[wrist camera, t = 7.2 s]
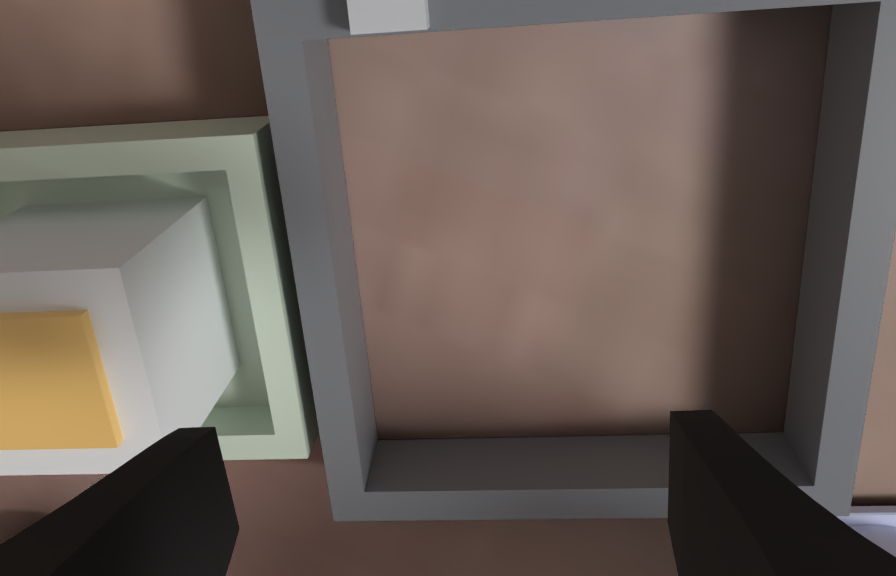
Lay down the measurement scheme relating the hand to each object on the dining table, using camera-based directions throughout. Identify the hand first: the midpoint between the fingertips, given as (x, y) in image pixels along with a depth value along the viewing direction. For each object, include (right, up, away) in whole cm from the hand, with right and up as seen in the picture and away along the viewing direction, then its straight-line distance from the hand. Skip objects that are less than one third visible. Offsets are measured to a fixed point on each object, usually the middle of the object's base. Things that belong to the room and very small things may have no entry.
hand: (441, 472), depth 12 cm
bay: (-8, +3, +10) cm, 13 cm away
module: (-9, +3, +9) cm, 13 cm away
